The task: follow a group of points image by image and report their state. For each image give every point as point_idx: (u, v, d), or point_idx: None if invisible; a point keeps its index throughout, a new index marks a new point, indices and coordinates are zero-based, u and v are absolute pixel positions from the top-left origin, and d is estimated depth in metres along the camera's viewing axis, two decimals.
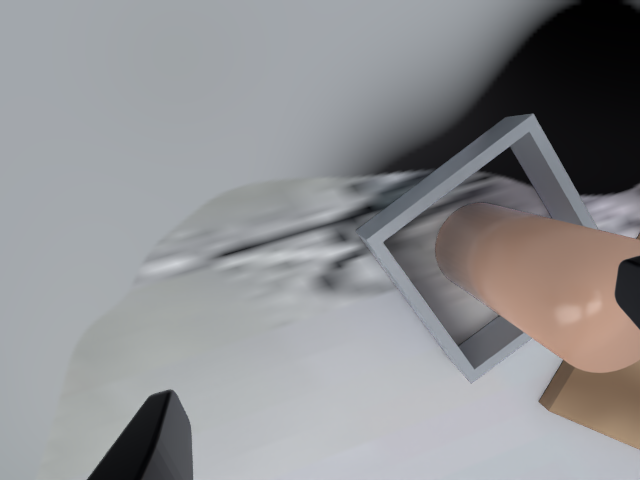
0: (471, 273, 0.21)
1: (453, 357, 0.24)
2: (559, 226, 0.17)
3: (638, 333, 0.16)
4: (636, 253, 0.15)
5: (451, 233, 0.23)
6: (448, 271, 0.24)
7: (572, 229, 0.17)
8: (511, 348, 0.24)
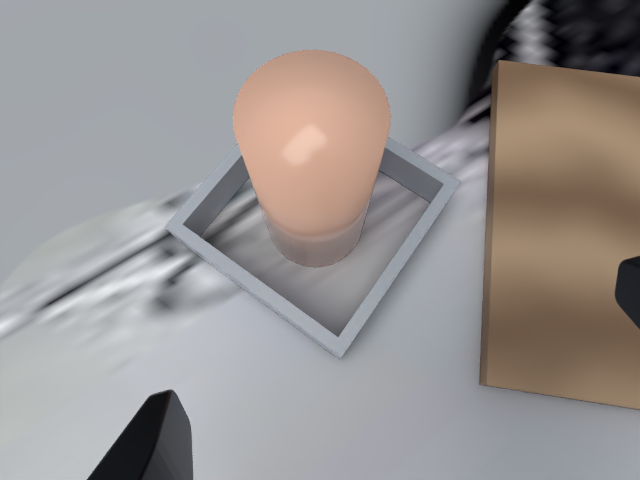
0: (261, 208, 0.19)
1: (305, 328, 0.19)
2: None
3: (357, 132, 0.14)
4: (311, 61, 0.15)
5: None
6: (277, 243, 0.22)
7: None
8: (373, 299, 0.20)
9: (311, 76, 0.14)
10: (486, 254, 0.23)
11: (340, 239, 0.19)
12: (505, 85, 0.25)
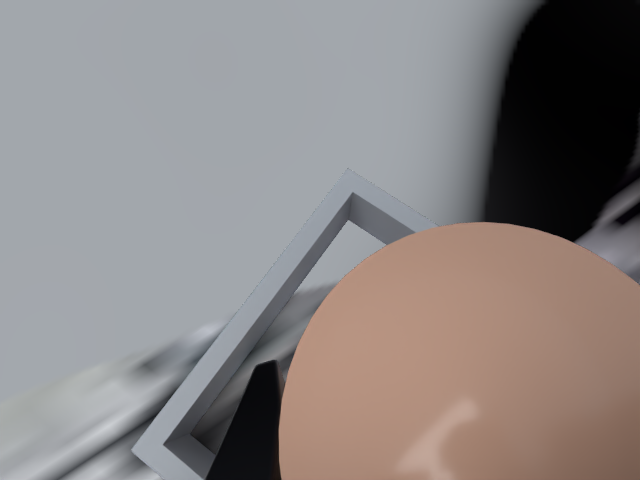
0: None
1: None
2: None
3: None
4: (480, 257, 0.05)
5: None
6: None
7: None
8: None
9: (487, 303, 0.05)
10: None
11: None
12: None
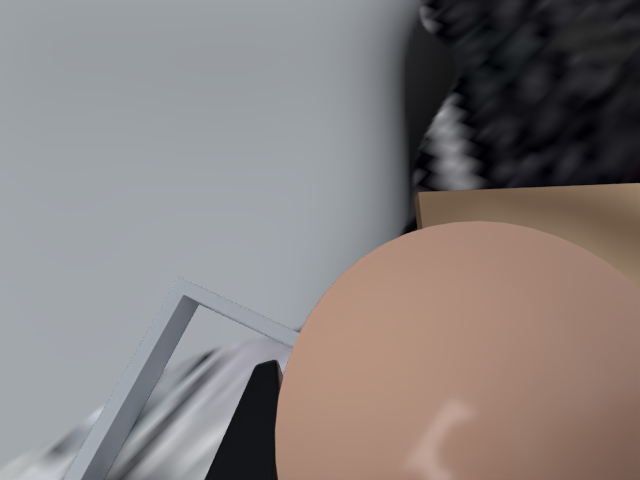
0: None
1: None
2: None
3: None
4: (477, 256, 0.05)
5: None
6: None
7: None
8: None
9: (484, 303, 0.05)
10: None
11: None
12: (430, 223, 0.21)
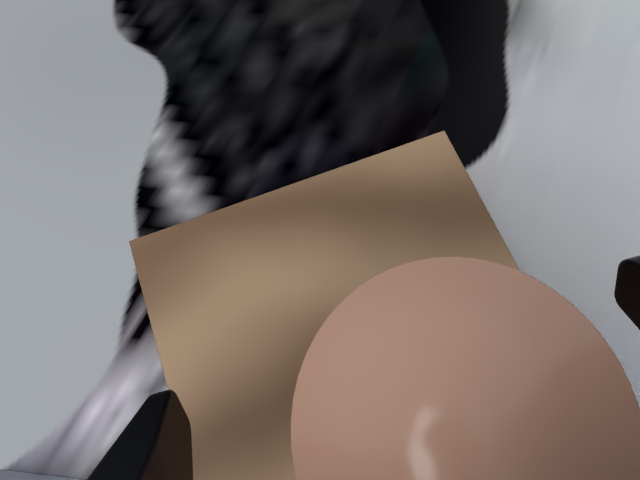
0: None
1: None
2: None
3: (576, 476, 0.06)
4: (451, 285, 0.07)
5: None
6: None
7: None
8: None
9: (455, 322, 0.07)
10: None
11: None
12: (149, 275, 0.17)
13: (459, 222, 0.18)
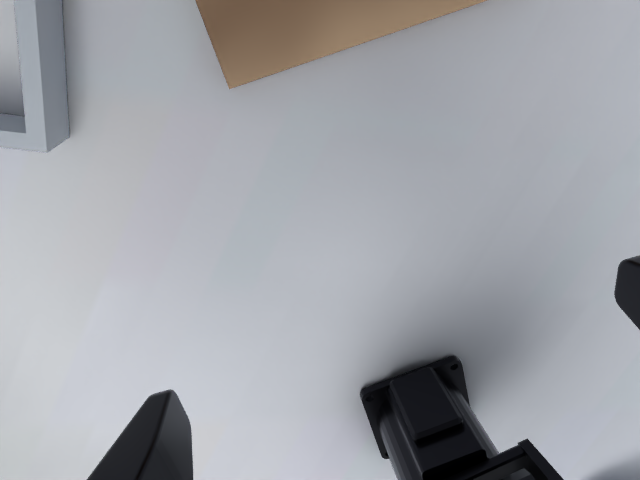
0: None
1: None
2: None
3: None
4: None
5: None
6: None
7: None
8: (30, 64, 0.14)
9: None
10: None
11: None
12: None
13: None
